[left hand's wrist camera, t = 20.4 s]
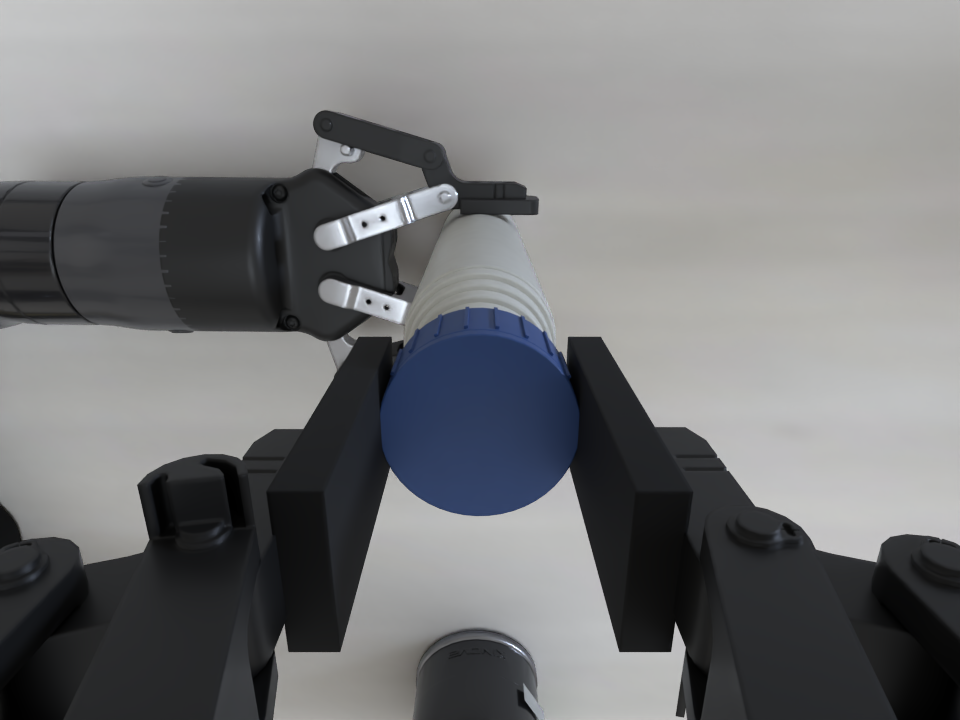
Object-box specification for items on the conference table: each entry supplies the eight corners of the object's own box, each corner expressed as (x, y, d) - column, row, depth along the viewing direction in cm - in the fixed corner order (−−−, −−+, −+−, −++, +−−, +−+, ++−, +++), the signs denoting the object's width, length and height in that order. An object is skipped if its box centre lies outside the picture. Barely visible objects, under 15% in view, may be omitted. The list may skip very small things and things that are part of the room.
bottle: (518, 198, 36) (592, 317, 12) (516, 275, 37) (577, 508, 14) (441, 198, 36) (368, 315, 12) (442, 274, 37) (379, 506, 14)
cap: (429, 492, 15) (422, 541, 13) (359, 341, 14) (340, 373, 12) (592, 439, 15) (608, 484, 13) (536, 278, 13) (545, 301, 12)
